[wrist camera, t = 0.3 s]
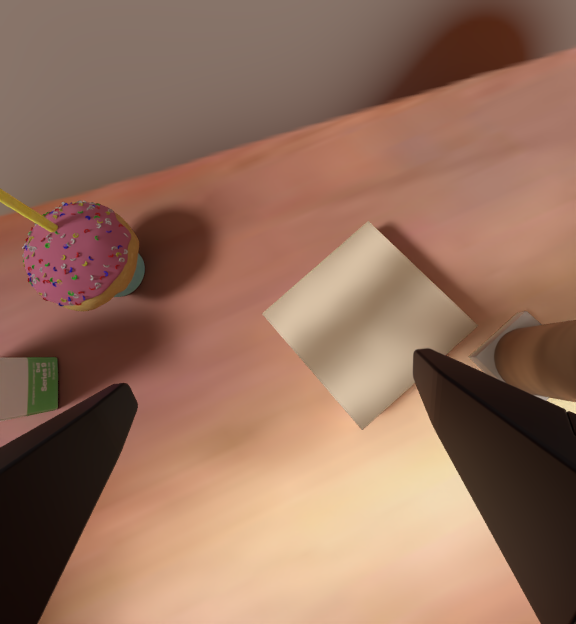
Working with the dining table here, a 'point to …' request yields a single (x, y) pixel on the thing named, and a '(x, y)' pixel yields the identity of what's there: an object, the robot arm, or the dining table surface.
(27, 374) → the ink box
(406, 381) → the birch block
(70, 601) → the dining table surface
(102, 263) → the cupcake
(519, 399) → the robot arm
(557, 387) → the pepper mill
